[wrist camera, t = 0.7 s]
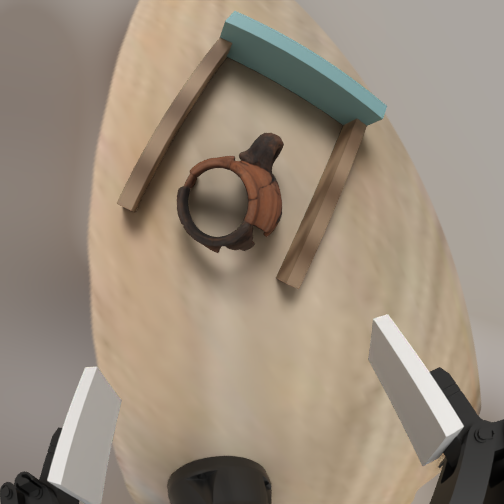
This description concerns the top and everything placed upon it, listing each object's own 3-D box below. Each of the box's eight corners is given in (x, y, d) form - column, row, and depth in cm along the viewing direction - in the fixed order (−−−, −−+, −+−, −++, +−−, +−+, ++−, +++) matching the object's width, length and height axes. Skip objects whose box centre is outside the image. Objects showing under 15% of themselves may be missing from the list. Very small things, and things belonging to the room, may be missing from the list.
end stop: (352, 132, 32) (382, 118, 26) (215, 51, 27) (225, 21, 21) (357, 120, 32) (386, 106, 26) (223, 40, 27) (234, 10, 21)
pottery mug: (264, 261, 31) (241, 277, 23) (192, 222, 33) (150, 225, 25) (315, 159, 28) (309, 139, 20) (236, 125, 30) (206, 100, 22)
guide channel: (287, 283, 31) (298, 289, 29) (122, 205, 26) (116, 203, 23) (352, 132, 32) (366, 125, 29) (215, 51, 27) (219, 37, 24)
